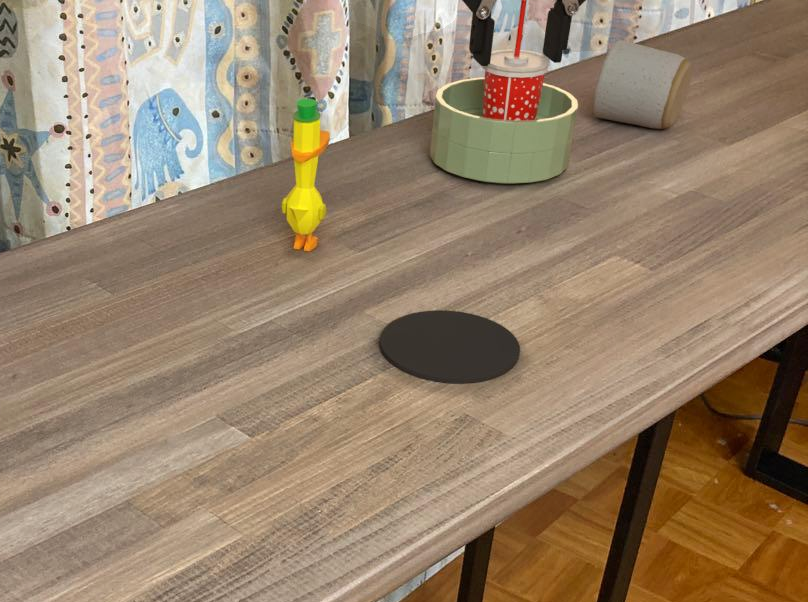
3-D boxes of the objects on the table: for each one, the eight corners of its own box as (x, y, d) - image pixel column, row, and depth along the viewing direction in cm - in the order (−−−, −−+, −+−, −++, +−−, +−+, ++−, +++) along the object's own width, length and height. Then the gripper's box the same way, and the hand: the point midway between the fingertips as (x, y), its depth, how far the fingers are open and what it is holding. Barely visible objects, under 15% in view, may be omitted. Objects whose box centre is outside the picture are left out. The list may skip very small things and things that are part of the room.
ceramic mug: (664, 140, 115) (683, 61, 110) (586, 125, 118) (601, 48, 113) (690, 113, 122) (709, 37, 117) (616, 99, 125) (631, 26, 120)
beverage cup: (541, 149, 110) (564, -6, 102) (529, 170, 106) (552, 10, 97) (479, 141, 112) (497, -12, 103) (465, 162, 108) (482, 4, 99)
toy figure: (299, 225, 97) (304, 82, 90) (338, 232, 96) (346, 88, 89) (272, 257, 92) (274, 108, 85) (313, 264, 91) (319, 114, 84)
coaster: (520, 322, 84) (521, 317, 84) (517, 391, 76) (518, 386, 76) (387, 308, 85) (388, 304, 85) (371, 374, 78) (371, 369, 78)
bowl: (566, 143, 114) (577, 82, 110) (567, 193, 104) (579, 127, 100) (435, 133, 116) (441, 72, 112) (424, 180, 106) (430, 116, 102)
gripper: (457, -161, 88) (436, 76, 100) (665, -166, 91) (621, 68, 102) (432, -173, 94) (414, 53, 105) (627, -177, 96) (590, 45, 108)
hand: (516, 58), depth 103 cm, fingers closed on beverage cup, 6 cm apart
